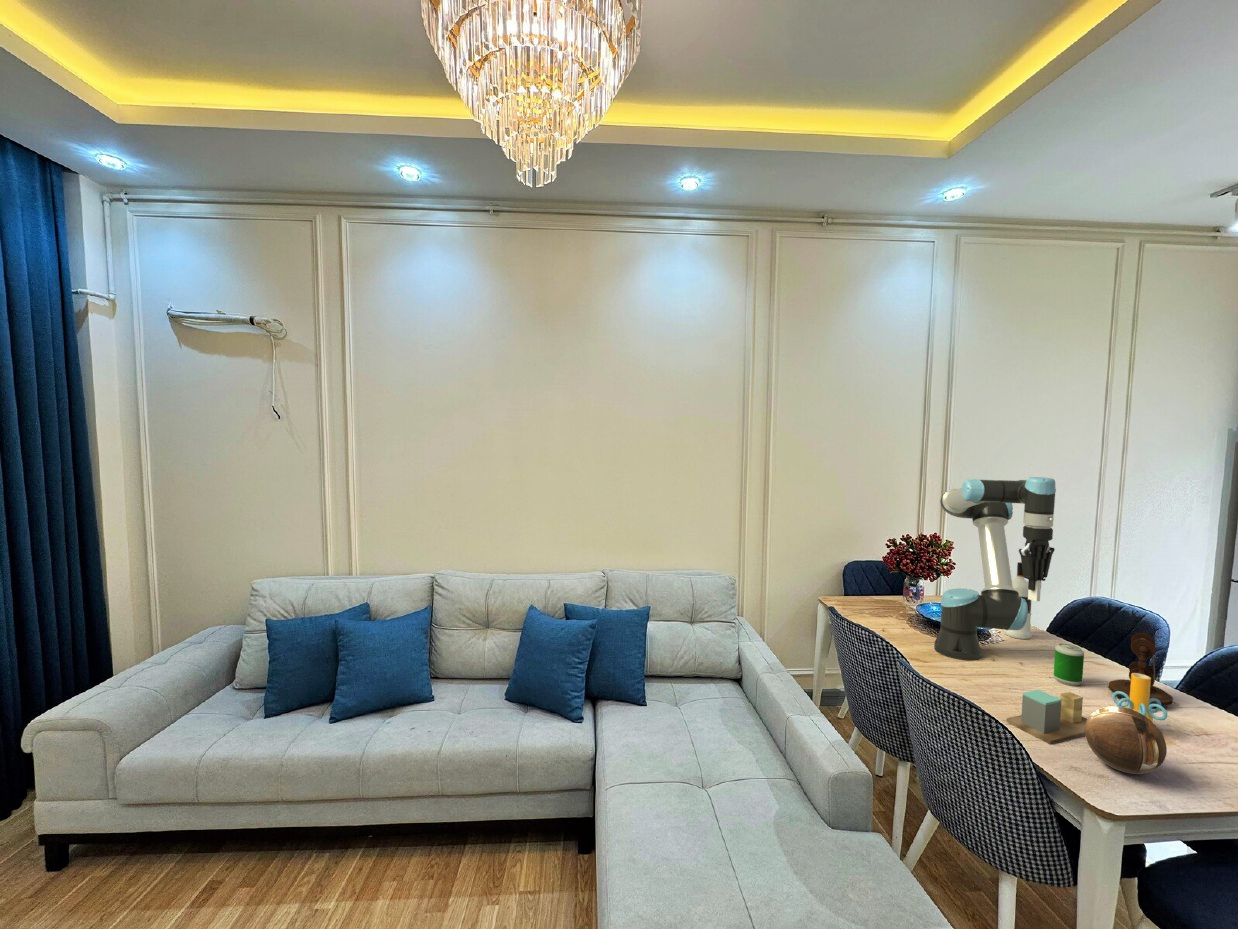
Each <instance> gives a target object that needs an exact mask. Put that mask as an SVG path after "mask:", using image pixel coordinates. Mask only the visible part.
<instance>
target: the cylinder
mask: <svg viewBox="0 0 1238 929" xmlns="http://www.w3.org/2000/svg"><path fill="white" fill-rule="evenodd" d="M1150 683H1151V678H1150V677H1149V676H1146V675H1143V674H1139V673H1132V674H1131V685H1130V698H1129V696H1128V695H1127V694H1125V693H1124V692H1121V691H1116V692H1114V693H1113V692H1112V695H1111V696H1112V701H1113V702H1114V703H1115V704H1116V706H1120V707H1125V708H1129V709H1132V710H1134V711H1137V712H1139V713H1141V714H1142V715H1144V716H1145V717H1147V718H1148V719H1150V720H1151V721H1152V722H1153V719H1154V720H1157V721H1165V720H1166V719H1167V718H1168V712H1167V710H1166V709H1165V707H1162V706H1161V702H1160V701H1159V700H1158V699H1156V698H1151V699H1149V697H1150ZM1117 694H1122V695H1124V696H1125V697H1126V698H1123V697H1121V698H1120V699H1118V698H1117ZM1117 699H1118V700H1117ZM1152 701H1156V702H1157V704H1150V703H1151V702H1152ZM1149 704H1150V705H1149ZM1155 707H1156V708H1155ZM1152 708H1155V709H1152ZM1160 709H1161V711H1162V712H1163V713H1162V714H1163V716H1160V717H1159V716H1157V715H1155V714H1156V713H1159V712H1160ZM1153 723H1154V722H1153Z"/></svg>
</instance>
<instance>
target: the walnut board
mask: <svg viewBox="0 0 1238 929" xmlns="http://www.w3.org/2000/svg"><path fill="white" fill-rule="evenodd" d="M1059 697H1060V698H1059V699H1061V700H1062V702H1061V718H1060V730H1057V731H1053V732H1049V733H1045V734H1043V733H1041V732H1039V731H1037V730H1035V729H1033V728H1031V727H1029V726H1027V725H1025V724H1023V723H1021V717H1022V714H1019V715H1016V716H1012V717H1007V718H1006V723H1008V724H1009V725H1012V726H1014V727H1016V728H1017V729H1019V730H1021V731H1023V732H1025V733H1028V734H1029V735H1031V736H1032V737H1035V738H1037V739H1039V740H1041V741H1043V742H1045V743H1047V744H1049V745H1053V744H1057V743H1061V742H1065V741H1069V740H1073V739H1077V738H1080V737H1084V736H1085V724H1086V721H1087V719H1088V718H1087V717H1085V716H1083V715H1082V714H1083V703H1084V702H1083V701H1084V700H1083V699H1084V697H1083V696H1081V695H1078V694H1076V693H1073V692H1071V691H1067V692H1066V691H1065V692H1061V693H1060V696H1059Z"/></svg>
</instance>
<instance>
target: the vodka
mask: <svg viewBox="0 0 1238 929" xmlns="http://www.w3.org/2000/svg"><path fill="white" fill-rule="evenodd" d="M1016 564H1017V565H1016V566H1017V567H1016V578H1013V579H1012V586H1013V588H1014V589H1015V590H1017V591H1018V593H1019V598H1023V599H1025V600H1026V603H1027V606H1028V615H1027V620H1026V623H1025V625H1024V627H1023V628H1022V629H1020V630H1004V629H1002V630H1003V633H1004V635H1006V636H1008V637H1010V638H1013V639H1018V640H1028V639H1031V638H1032V635H1033V633H1032V628H1031V625H1032V624H1031V618H1032V617H1031V616H1032V613H1031V612H1032V600H1030V599H1028V582H1029V581H1028V580H1026V578H1024V577H1023V570H1022V562H1021V561H1019V562H1016Z"/></svg>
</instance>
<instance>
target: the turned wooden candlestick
mask: <svg viewBox="0 0 1238 929" xmlns="http://www.w3.org/2000/svg"><path fill="white" fill-rule="evenodd" d="M1130 642H1131V643H1130V650H1131V652H1132V653H1133V654H1135V655H1136V657H1137V658H1138V661H1133V662H1130V664H1129V665H1128V670H1129V671H1128V678H1129V679H1121V678H1120V679H1114V680H1111V681H1109V682H1108V683H1107V684H1108V686H1107V688H1108V690H1109V691H1110V692H1112V694H1113V693H1114V692H1116V691H1121V692H1124V693H1125V694H1127V695H1128V696H1129V698H1130V685H1131V674H1132V673H1139V674H1143V675H1146V676H1149V677H1150V678H1151V683H1150V697H1149V699H1151V698H1156V699H1158V700H1159V701H1160V702H1161V706H1162V707H1163V708H1165V707H1166V706H1171V705H1173V703H1174V697H1173V696H1172V695H1171V694H1170V693H1168V692H1167V691H1166V690H1164V689H1161V687H1157V686H1155V685H1154V684H1155V681H1156V671H1155V670H1156V668H1155V667H1156V666H1155V659H1154V656H1155V654H1156V653H1157V647H1156V641H1155V639H1154V638H1153V636H1151V635H1149V634H1147V633H1144V632H1136V633H1134V634H1133V635H1132V636H1131V638H1130ZM1151 657H1152V666H1153V668H1152V666H1151V665H1150V664H1148V663H1147V662H1146V661H1147V660H1149V659H1150V658H1151ZM1122 698H1126V697H1125V696H1124V695H1122V694H1117V695H1116V699H1118V700H1120V699H1122ZM1150 704H1157V702H1156V701H1152V702H1151V703H1150ZM1150 704H1149V705H1150ZM1160 710H1161V709H1160ZM1160 710H1159V711H1160ZM1161 711H1162V710H1161Z"/></svg>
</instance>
